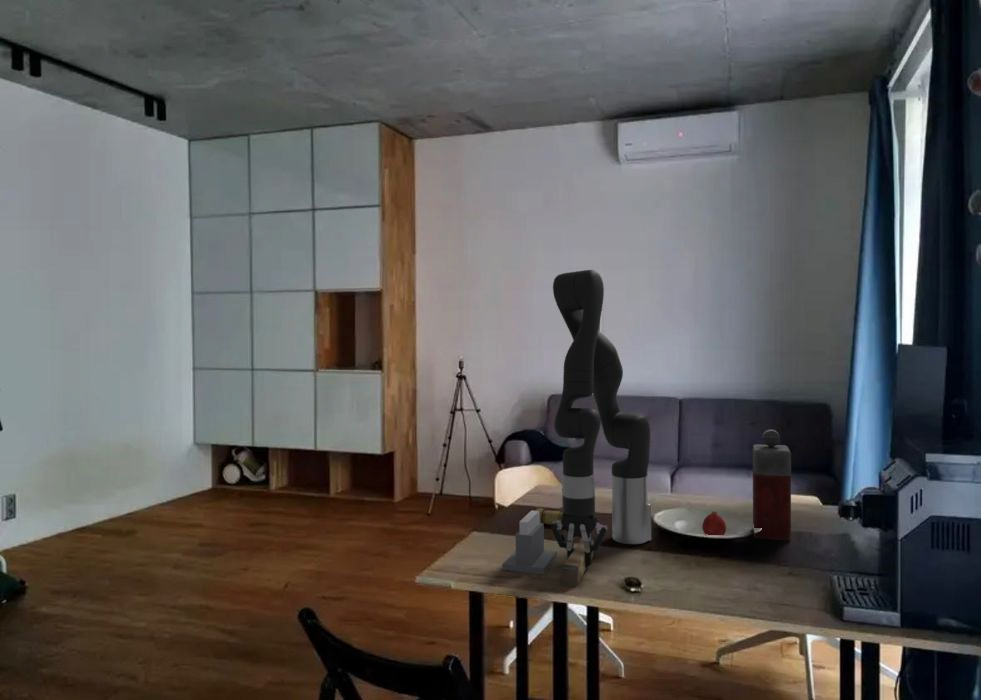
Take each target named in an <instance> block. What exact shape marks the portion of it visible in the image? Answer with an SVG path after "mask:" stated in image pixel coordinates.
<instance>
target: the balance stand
mask: <svg viewBox="0 0 981 700" xmlns="http://www.w3.org/2000/svg"><path fill="white" fill-rule="evenodd" d="M518 523H519V526H518V527H519V530H518V531H517V532H515V550H514V552H512V554H510V555H509V557H508V558H507V559H506V560H505V561H503V563H502V571H506V570H510V571H509V572H515V571H516V573H525V574H534V575H543V576H544V575H545V574H546V573H547V571H548V570H549V569H550V567H551V566H552V565H553V563H554V562H555V560H557V558H558V551H555V550H546V549H545V534H544V533H545V532H544V531H545V527H544V526H545V525H544V523H540V512H539V511H536V510H530V511H529V512H528V513H527V514H526V515H525V516H524V517H523V518H522V519H521V520H519V522H518Z"/></svg>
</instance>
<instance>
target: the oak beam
mask: <svg viewBox="0 0 981 700" xmlns="http://www.w3.org/2000/svg"><path fill="white" fill-rule="evenodd" d="M595 541H596V536H594V535H591V543H592V544H594V543H595ZM574 549H575V550H574V551H573V553H572V554H571V555H570V557H569V558H568V560H567V559H566V561H565V562H564V564H563V565H562V567H561V586H562V587H569V588H576V587H577V586H578V584H579V582H580V581H581V578H582V577H583V575H584V573H585V571H586V569H587V568H585V554H584V553H585V548H584V543H583V540H582V538H581V537H580V540H579V542H578V543H577V545H576V546H575V547H574ZM595 554H596V551H592V558H593V557H594V556H595Z"/></svg>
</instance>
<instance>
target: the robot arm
mask: <svg viewBox="0 0 981 700" xmlns="http://www.w3.org/2000/svg"><path fill="white" fill-rule="evenodd" d="M552 292H553V293H552V294H553V296H554V297H553V298H554V302H555V303H556V306H557V308H558V310H559V313H560V315H561V316H562V318H563V319H562V320H563V321H564V324H565V325H566V327H567V328H568V331H569V334H570V335H571V337H572V340H573V341H572V343H571V344H570V346H569V348H568V350H567V352H566V354H565V356H564V357H565V358H564V362H563V375H562V376H563V378H562V379H563V383H562V393H561V397H560V402H559V405H558V409H557V411H556V414H555V418H554V423H553V424H554V426H553V427H554V430H555V432H556V434H557V436H559V437H560V438H563V439H584V441H583V444H581V445H579V446H574V447H569V448H566V449H565V450H563V454H562V484H561V486H562V487H561V493H562V494H561V495H562V500H561V501H562V503H561V504H562V507H563V515H562V518H561V520H559V521H554V522H553V523H552V524H551V525H550V528H551V530H552V533H553V535H554V538H555V540H556V542H557V544H558V546H559V548H563V549H565V551H566V557H567V559H566V561H567V560H568V558H569V557H570V555H571V554H572V553H573V551H574V550H575V547H574V545H575V539H576V538H577V537H578V538H580V539H581V538H582V540H583V543H584V548H585V553H584V554H585V568H586V569H588V568H589V567H591V565H592V562H593V557H592V551H595V552H596V551H598V550H599V548H600V546H601V543H602V542H603V540H604V537H605V535H606V533H607V531H608V529H609V526H608V525H607V524H601V523H599V521H598V520H597V517H596V486H595V478H594V477H595V476H594V454H595V447H596V442H597V438H598V436H599V432H600V428H601V426H602V430H603V434H604V437H605V439H606V441H607V443H608V444H609V445H610V446H611V447H612V448H616V449H617V448H618V449H624V450H625V449H626V450H628V453H627V457H626V458H625V459H622V460H618V461H615V462H613V463H612V465H611V505H612V508H611V509H612V510H611V514H612V515H611V517H612V523H611V524H612V531H611V533H612V534H611V535H612V540H613V541H615V542H617V543H620V544H625V545H641V544H644V543H647V542H648V541H649V542H650V541H652V505H651V504H650V503H649V502H648V501H649V500H648V498H649V496H648V493H649V492H648V468H649V465H650V464H649V463H650V451H651V449H650V448H651V427H650V421H649V420H648V418H647V417H646V416H645V415H641V414H635V413H624V412H622V411H621V409H620V407H619V404H618V400H617V395H618V391H619V388H620V386H621V383H622V380H623V377H624V374H623V373H624V371H623V369H624V368H623V365H622V363H621V360H620V357H619V354H618V350H617V348H616V346H615V345H614V344H613V343H612V341H611V340H610V339H609V338H608V337H606V335H604V334H603V333H602V332H601V331H600V330H599V328H600V323H601V317H602V311H603V305H604V297H605V287H604V281H603V278H602V276H601V275H600V273H599V272H598V271H597V270H594V269H585V270H578V271H577V270H576V271H571V272H564V273H560V274H558V275H557V276H555V277H554V280H553V282H552ZM592 395H593V396H594V397H593V398H594V400H595V404H596V407H597V409H594V408H590V407H573V404H574V403H575V401H577V400H581V399H585V398H590V397H591V396H592ZM562 525H563V526H564V527H562ZM562 528H564V529H565V531H566V532H567V538H565V536H564V533H563V531H562ZM595 528H596V534H598V535H597V537H596V538H595V543H594V544H592V543H591V536H592V535H591V533H592V532H593V530H594V529H595Z"/></svg>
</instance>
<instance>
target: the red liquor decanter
mask: <svg viewBox="0 0 981 700" xmlns="http://www.w3.org/2000/svg"><path fill="white" fill-rule="evenodd" d="M762 441H763V443H764V444H757V443H756V444H753V446H752V525H753V524H754V528H762V530H761V531H760V532H758V533H756V534H755V535H754V534H753V537H754V539H763V540H775V541H788V542H789V541H790V542H791V541H792V460H791V459H792V453H791V451H790V449H789V447H788V446H787V445H785V444H784V445H783V444H779V443H780V442H781V437H780V434H779V432H777V430H775V429H767V430H765V431H764V432H763V434H762Z"/></svg>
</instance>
